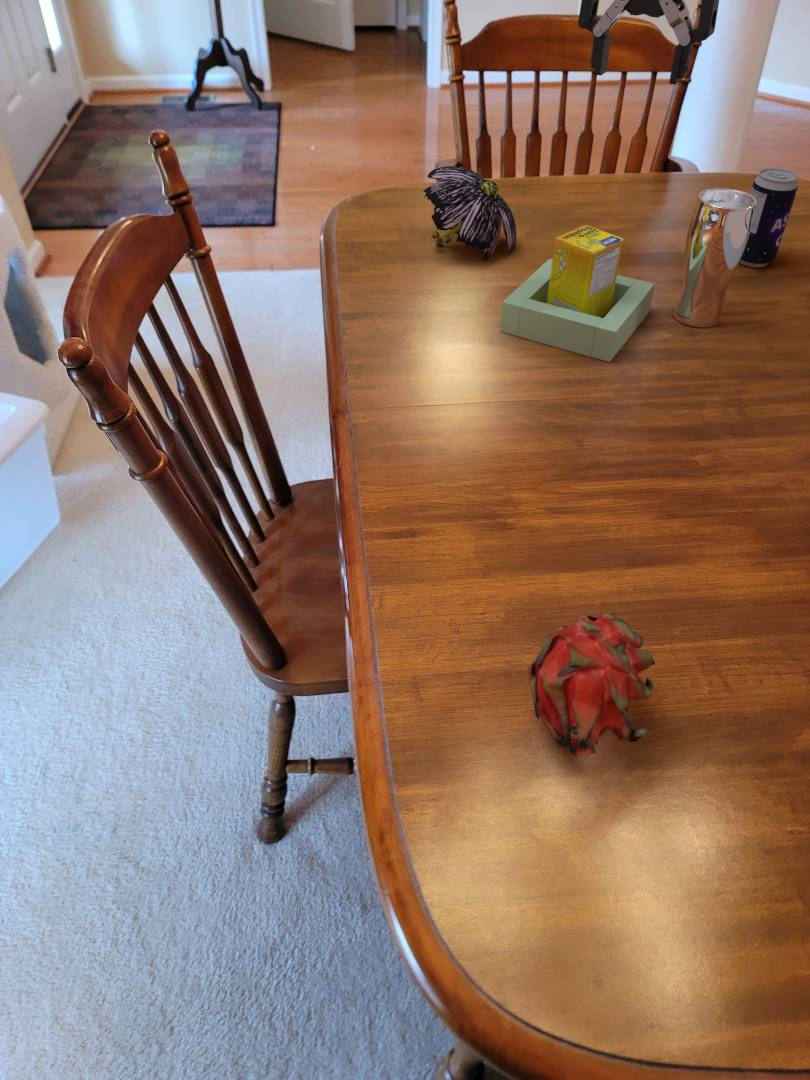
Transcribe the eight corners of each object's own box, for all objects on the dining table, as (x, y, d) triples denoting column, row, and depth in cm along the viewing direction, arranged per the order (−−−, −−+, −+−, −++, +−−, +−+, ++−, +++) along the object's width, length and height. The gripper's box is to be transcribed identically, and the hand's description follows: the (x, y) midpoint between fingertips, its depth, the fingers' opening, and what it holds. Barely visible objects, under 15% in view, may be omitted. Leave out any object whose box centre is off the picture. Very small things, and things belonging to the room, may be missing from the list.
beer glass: (727, 332, 104) (762, 211, 94) (670, 327, 105) (699, 207, 95) (721, 306, 109) (754, 189, 99) (667, 301, 110) (694, 185, 100)
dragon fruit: (608, 662, 67) (568, 797, 60) (529, 602, 65) (479, 734, 58) (689, 634, 60) (655, 781, 54) (605, 566, 59) (558, 710, 52)
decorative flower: (501, 208, 108) (419, 147, 112) (461, 286, 115) (385, 227, 119) (551, 206, 119) (475, 151, 123) (512, 278, 126) (441, 224, 130)
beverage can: (762, 273, 116) (790, 185, 108) (725, 261, 119) (749, 174, 111) (780, 260, 119) (808, 174, 111) (743, 249, 122) (767, 164, 114)
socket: (648, 312, 108) (655, 283, 105) (609, 362, 99) (615, 331, 96) (545, 286, 113) (549, 258, 110) (499, 331, 104) (502, 301, 101)
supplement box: (572, 306, 109) (585, 223, 101) (609, 322, 106) (625, 238, 98) (542, 321, 106) (553, 236, 98) (580, 338, 103) (594, 252, 95)
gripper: (748, -106, 82) (709, 77, 93) (608, -112, 87) (587, 63, 98) (730, -98, 77) (691, 95, 88) (583, -104, 82) (564, 78, 93)
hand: (636, 78), depth 93 cm, fingers open, 8 cm apart
